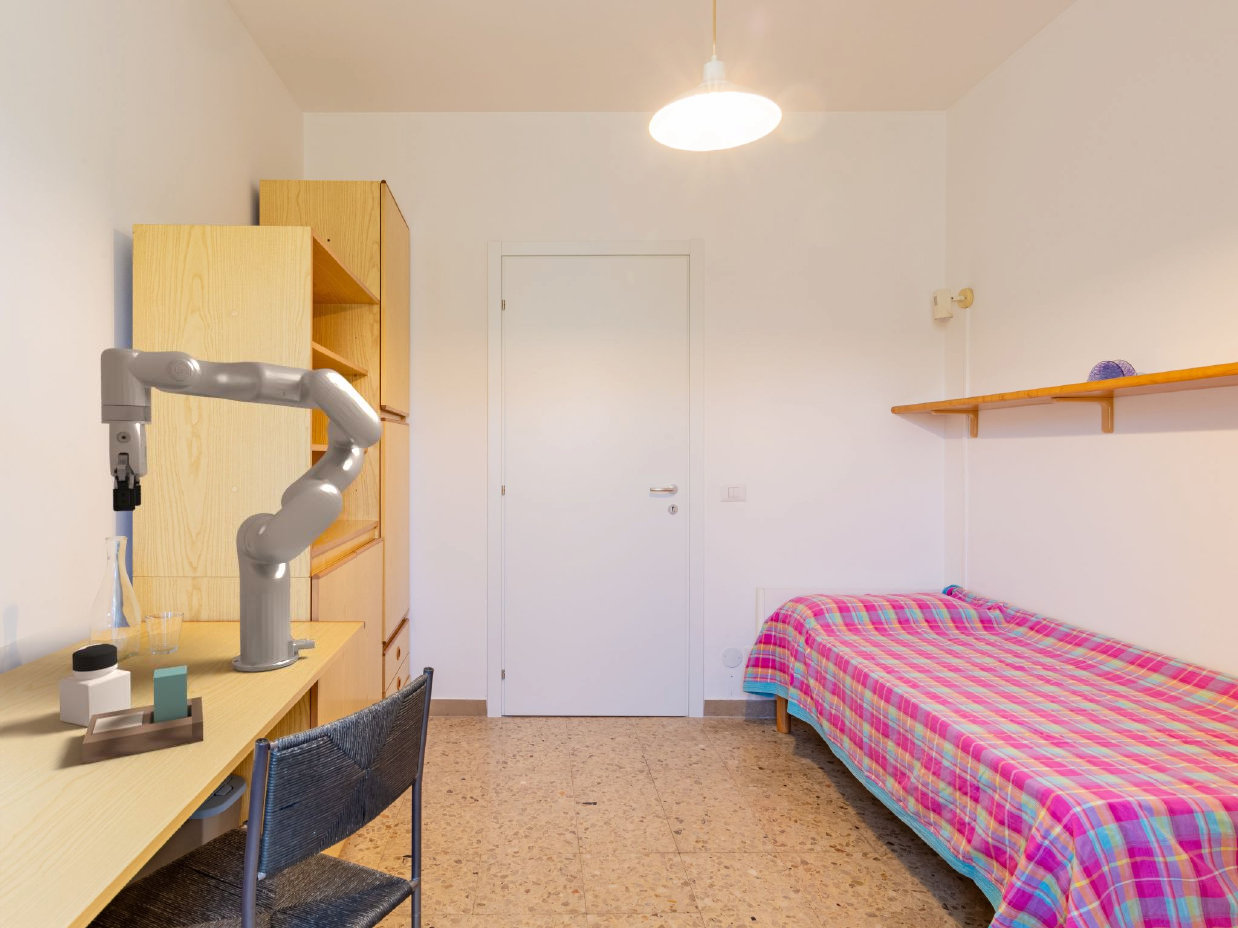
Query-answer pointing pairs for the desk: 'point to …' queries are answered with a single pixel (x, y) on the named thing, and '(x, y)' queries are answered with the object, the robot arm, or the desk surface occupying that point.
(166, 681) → the peg
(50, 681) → the desk surface
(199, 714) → the pocket board
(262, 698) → the desk surface
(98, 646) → the medicine bottle
